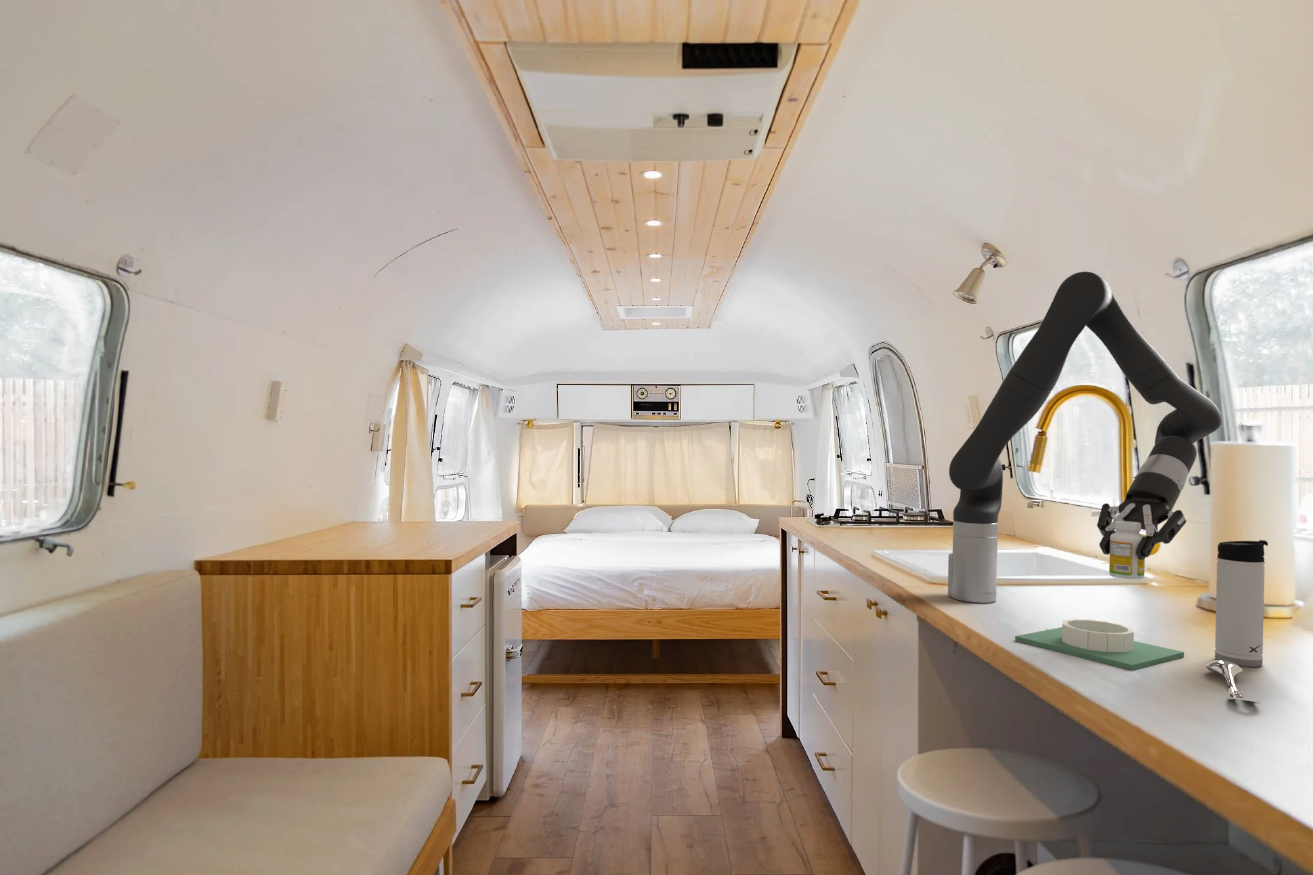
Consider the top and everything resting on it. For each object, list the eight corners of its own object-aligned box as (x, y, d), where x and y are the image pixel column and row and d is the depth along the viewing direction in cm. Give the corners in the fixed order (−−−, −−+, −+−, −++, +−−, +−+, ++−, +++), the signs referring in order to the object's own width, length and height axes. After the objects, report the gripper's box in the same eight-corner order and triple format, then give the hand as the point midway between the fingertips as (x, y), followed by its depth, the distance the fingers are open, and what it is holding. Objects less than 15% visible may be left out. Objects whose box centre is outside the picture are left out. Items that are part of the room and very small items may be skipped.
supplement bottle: (1134, 574, 143) (1135, 520, 143) (1150, 580, 138) (1152, 524, 138) (1103, 573, 144) (1104, 520, 144) (1118, 579, 138) (1119, 523, 138)
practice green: (1015, 640, 140) (1015, 619, 140) (1067, 630, 149) (1067, 610, 149) (1132, 670, 123) (1132, 645, 123) (1184, 656, 132) (1184, 633, 132)
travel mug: (1267, 670, 125) (1270, 543, 125) (1216, 663, 128) (1218, 539, 128) (1262, 660, 130) (1265, 539, 130) (1213, 654, 134) (1216, 535, 133)
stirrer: (1269, 686, 104) (1226, 680, 106) (1269, 714, 104) (1226, 707, 106) (1238, 659, 122) (1201, 654, 124) (1238, 682, 122) (1201, 677, 124)
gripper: (1110, 468, 151) (1073, 534, 144) (1194, 472, 138) (1158, 545, 132) (1124, 495, 153) (1088, 561, 147) (1207, 502, 141) (1172, 574, 135)
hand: (1121, 553), depth 140 cm, fingers closed on supplement bottle, 5 cm apart
